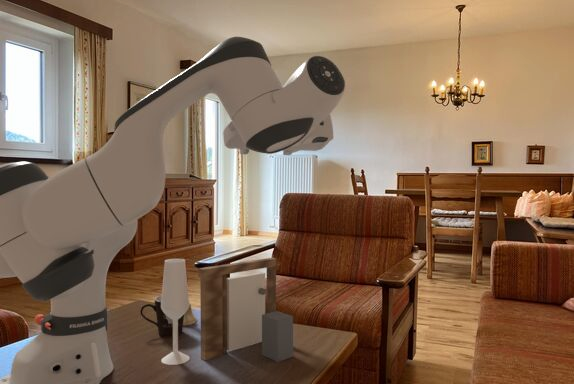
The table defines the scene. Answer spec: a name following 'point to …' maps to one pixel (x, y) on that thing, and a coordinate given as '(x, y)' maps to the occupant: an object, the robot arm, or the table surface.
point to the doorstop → (277, 336)
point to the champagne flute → (175, 303)
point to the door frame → (216, 302)
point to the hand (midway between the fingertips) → (264, 151)
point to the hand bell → (189, 315)
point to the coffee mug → (163, 320)
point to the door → (245, 310)
